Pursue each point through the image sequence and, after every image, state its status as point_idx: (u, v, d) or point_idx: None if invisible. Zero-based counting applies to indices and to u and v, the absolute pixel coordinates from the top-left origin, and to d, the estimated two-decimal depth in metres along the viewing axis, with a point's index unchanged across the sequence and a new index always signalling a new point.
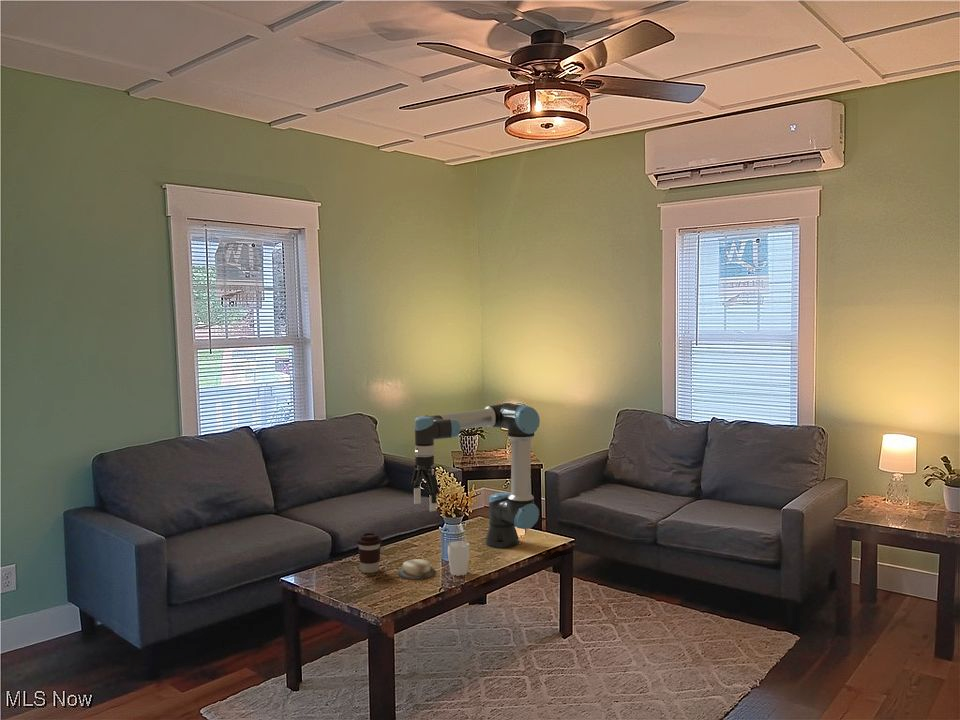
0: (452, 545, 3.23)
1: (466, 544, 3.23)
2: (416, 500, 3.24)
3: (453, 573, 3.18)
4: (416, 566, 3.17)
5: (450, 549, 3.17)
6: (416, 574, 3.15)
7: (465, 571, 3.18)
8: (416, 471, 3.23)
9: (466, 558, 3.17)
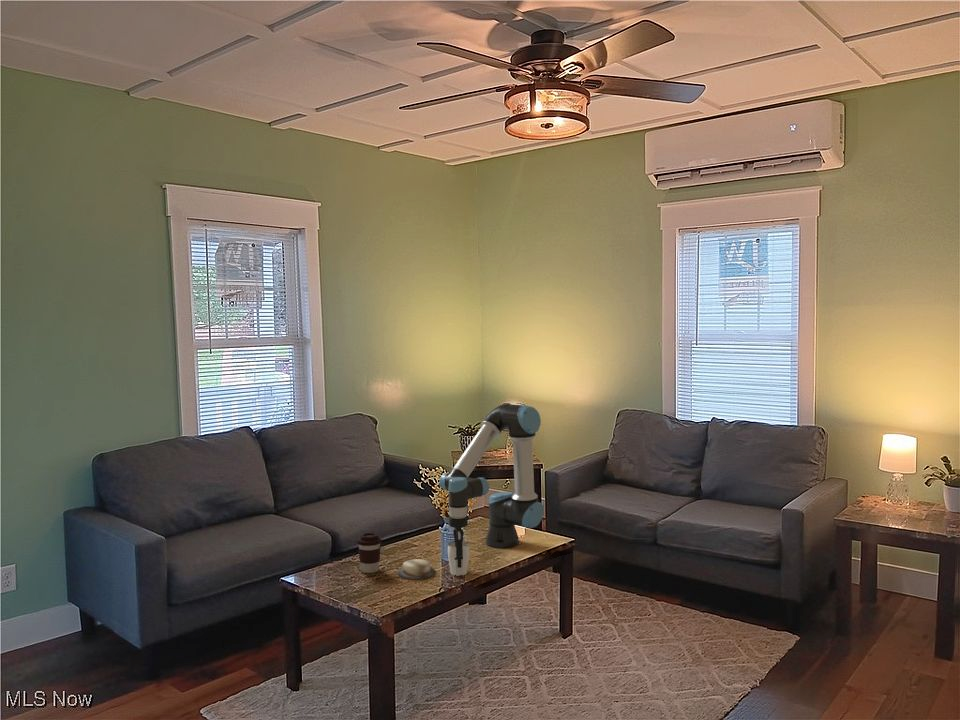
0: (452, 545, 3.23)
1: (466, 544, 3.23)
2: None
3: (453, 573, 3.18)
4: (416, 566, 3.17)
5: (450, 549, 3.17)
6: (416, 574, 3.15)
7: (465, 571, 3.18)
8: None
9: (466, 558, 3.17)
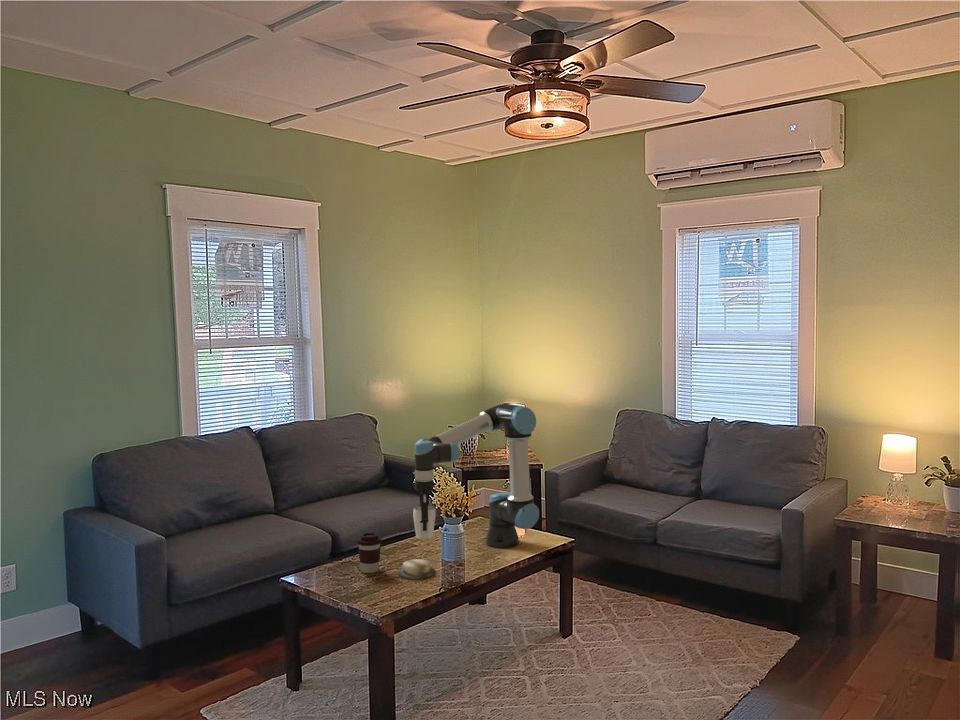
0: (418, 509, 3.22)
1: (432, 508, 3.21)
2: None
3: (418, 537, 3.16)
4: (416, 566, 3.17)
5: (416, 512, 3.15)
6: (416, 574, 3.15)
7: (431, 535, 3.17)
8: None
9: (432, 522, 3.16)
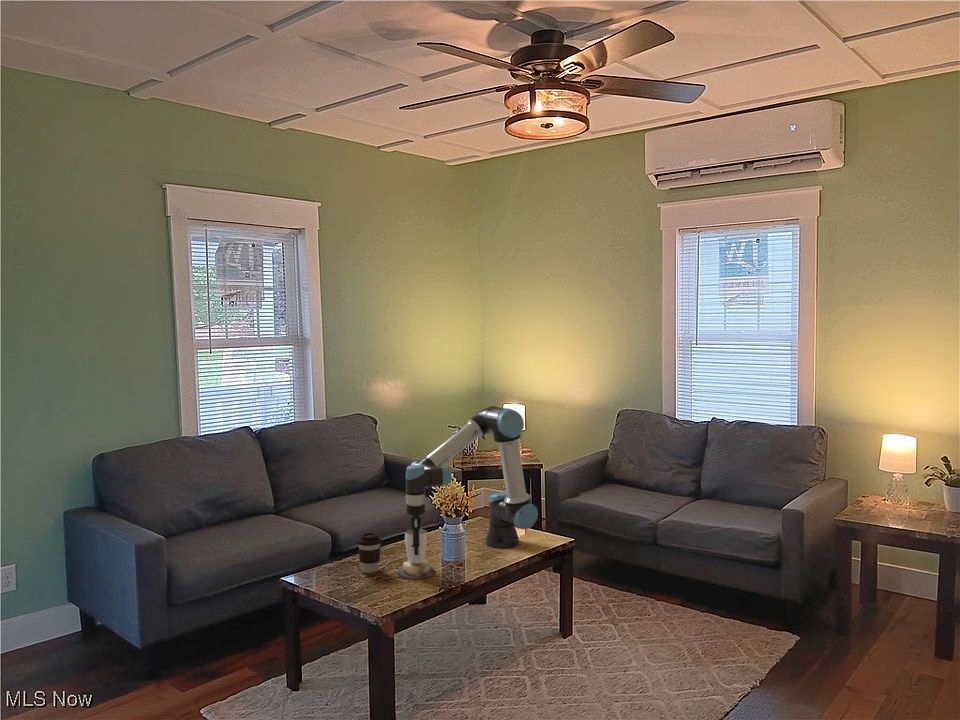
0: (410, 533, 3.23)
1: (424, 532, 3.22)
2: None
3: (410, 561, 3.18)
4: (416, 566, 3.17)
5: (407, 537, 3.17)
6: (416, 574, 3.15)
7: (422, 559, 3.18)
8: None
9: (423, 546, 3.17)
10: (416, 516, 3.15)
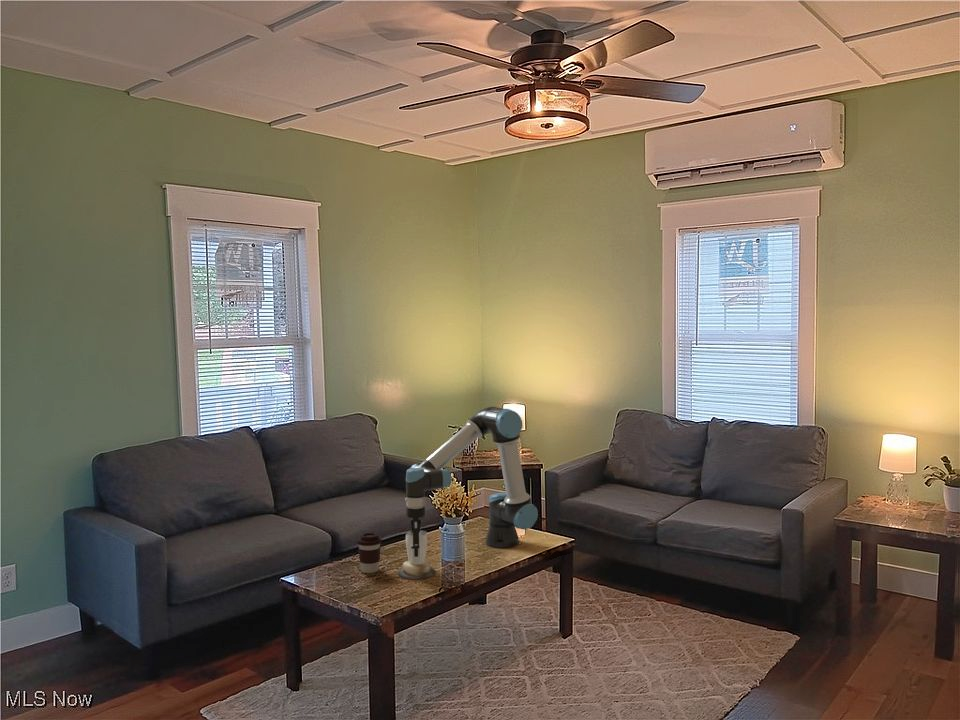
0: (410, 535, 3.25)
1: (424, 533, 3.24)
2: None
3: (411, 562, 3.19)
4: (416, 566, 3.17)
5: (408, 538, 3.18)
6: (416, 574, 3.15)
7: (423, 560, 3.20)
8: None
9: (424, 547, 3.19)
10: (416, 518, 3.16)
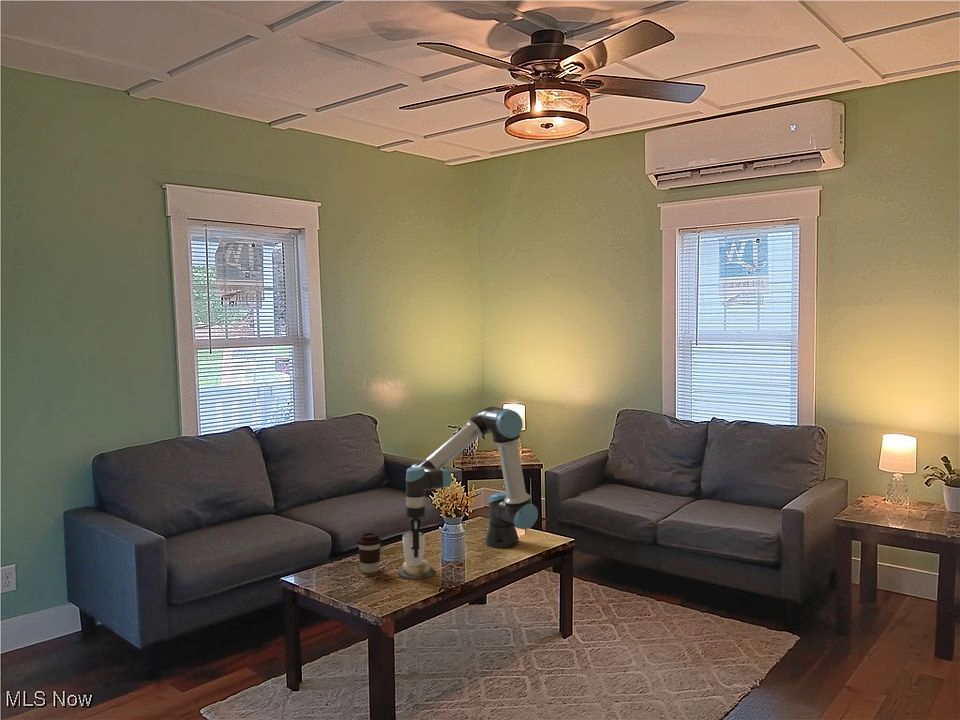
0: None
1: None
2: None
3: None
4: (416, 566, 3.17)
5: None
6: (416, 574, 3.15)
7: None
8: None
9: (411, 550, 3.15)
10: (416, 518, 3.15)
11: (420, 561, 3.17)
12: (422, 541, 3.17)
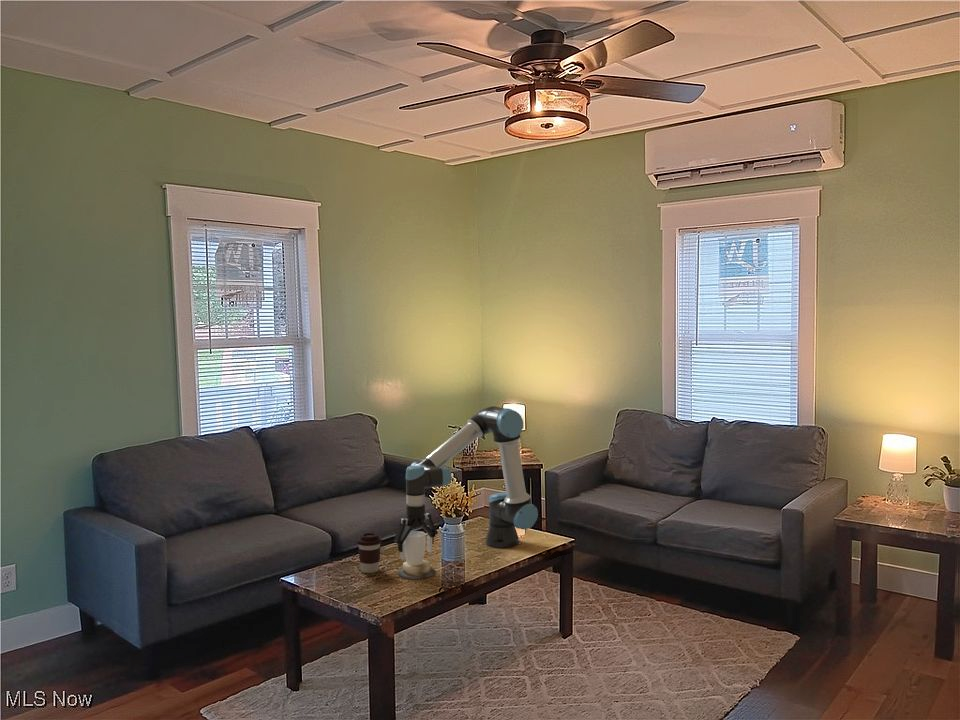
0: (425, 537, 3.22)
1: None
2: (428, 548, 3.25)
3: None
4: (416, 566, 3.17)
5: None
6: (416, 574, 3.15)
7: (407, 561, 3.19)
8: (427, 519, 3.23)
9: (405, 547, 3.18)
10: None
11: (414, 561, 3.18)
12: (414, 542, 3.16)
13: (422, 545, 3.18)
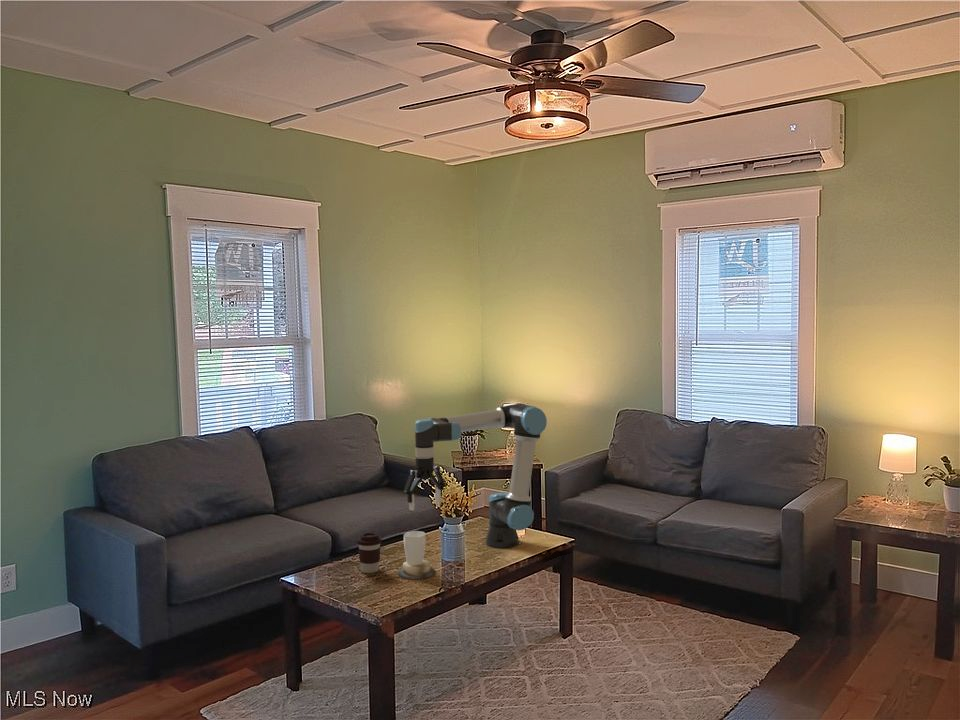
0: None
1: None
2: (436, 500, 3.33)
3: None
4: (416, 566, 3.17)
5: None
6: (416, 574, 3.15)
7: (407, 561, 3.19)
8: (435, 472, 3.32)
9: (405, 547, 3.18)
10: None
11: (414, 561, 3.18)
12: (414, 542, 3.16)
13: (422, 545, 3.18)
